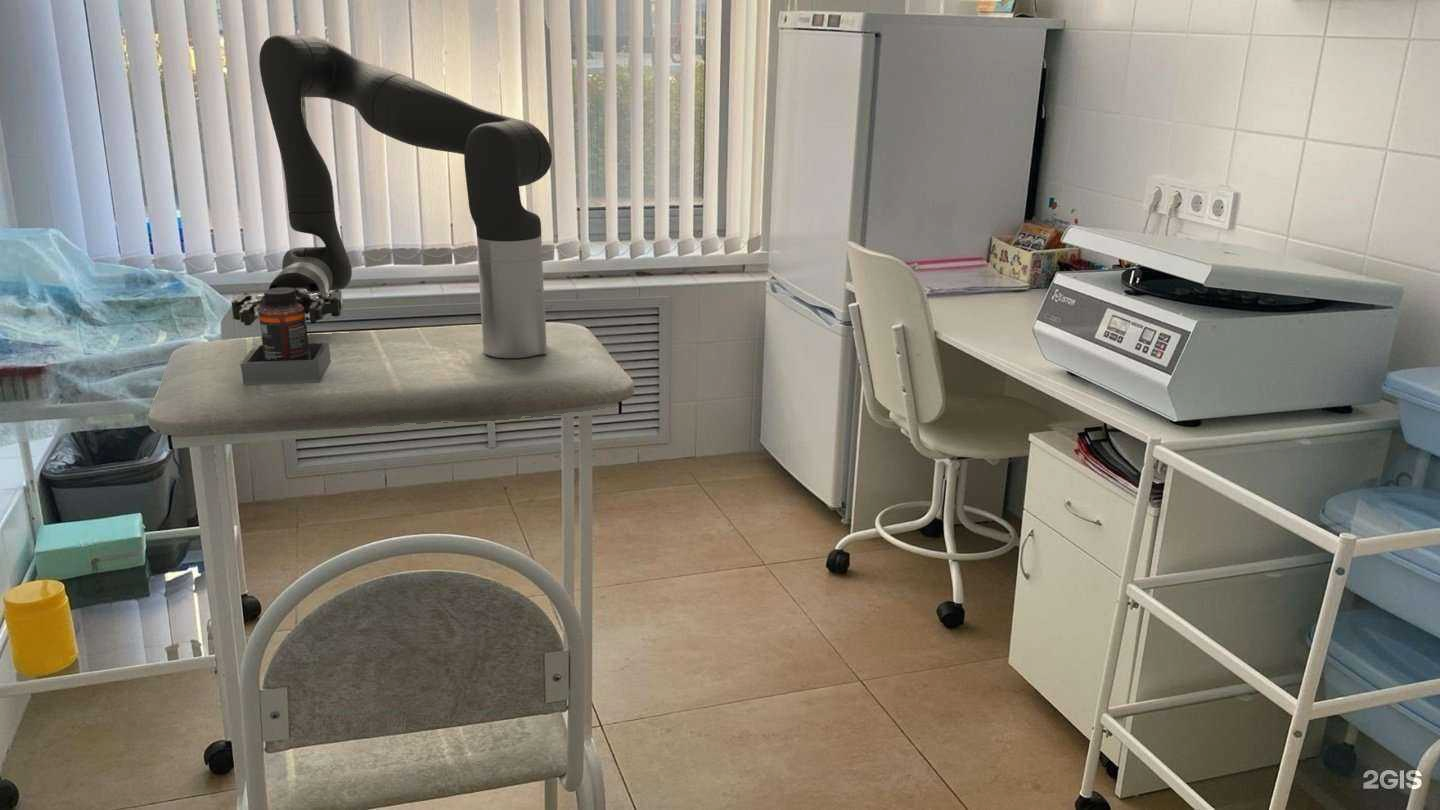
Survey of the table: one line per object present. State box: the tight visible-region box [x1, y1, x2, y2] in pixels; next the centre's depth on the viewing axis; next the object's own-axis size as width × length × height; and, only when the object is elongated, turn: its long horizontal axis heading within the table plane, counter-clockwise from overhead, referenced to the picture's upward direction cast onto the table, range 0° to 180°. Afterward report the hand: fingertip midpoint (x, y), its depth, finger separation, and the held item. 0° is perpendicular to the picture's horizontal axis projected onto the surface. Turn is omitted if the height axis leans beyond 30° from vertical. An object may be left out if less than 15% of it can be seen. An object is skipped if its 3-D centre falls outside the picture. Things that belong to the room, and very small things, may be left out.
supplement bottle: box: [258, 287, 310, 361], centre depth 156 cm, size 6×6×11 cm
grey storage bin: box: [240, 341, 332, 386], centre depth 158 cm, size 10×10×3 cm
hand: (279, 317), depth 154 cm, fingers open, 8 cm apart
